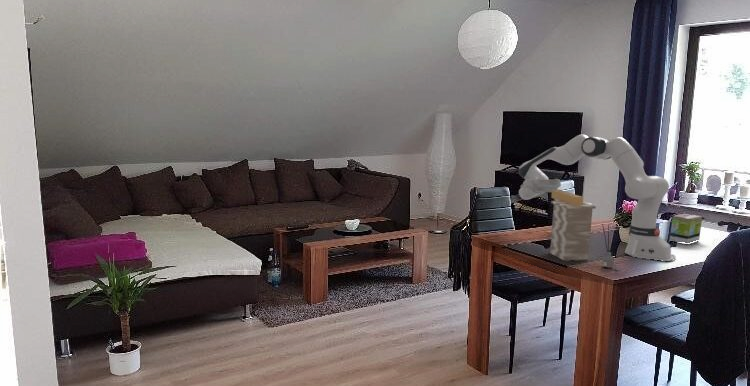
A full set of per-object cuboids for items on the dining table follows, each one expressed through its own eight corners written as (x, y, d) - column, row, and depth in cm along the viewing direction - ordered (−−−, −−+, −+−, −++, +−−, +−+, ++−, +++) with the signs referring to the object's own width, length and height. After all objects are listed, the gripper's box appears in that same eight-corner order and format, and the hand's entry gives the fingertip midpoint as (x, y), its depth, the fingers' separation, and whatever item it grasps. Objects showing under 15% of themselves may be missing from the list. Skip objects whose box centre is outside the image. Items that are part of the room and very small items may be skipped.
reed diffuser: (595, 266, 254) (599, 223, 251) (603, 263, 258) (607, 221, 255) (616, 271, 246) (621, 227, 243) (624, 269, 250) (628, 225, 247)
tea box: (688, 245, 298) (691, 218, 296) (668, 242, 306) (671, 215, 303) (699, 242, 308) (702, 215, 305) (680, 238, 315) (683, 212, 313)
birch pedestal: (547, 252, 276) (551, 200, 272) (573, 251, 279) (577, 200, 275) (564, 261, 261) (568, 206, 257) (591, 260, 263) (595, 206, 259)
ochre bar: (551, 197, 282) (551, 189, 281) (558, 197, 283) (559, 189, 282) (574, 205, 260) (575, 197, 260) (582, 205, 261) (583, 196, 261)
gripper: (518, 181, 307) (529, 174, 294) (552, 181, 311) (565, 174, 298) (519, 192, 305) (531, 185, 292) (553, 192, 309) (566, 185, 296)
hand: (548, 180), depth 295 cm, fingers open, 8 cm apart
